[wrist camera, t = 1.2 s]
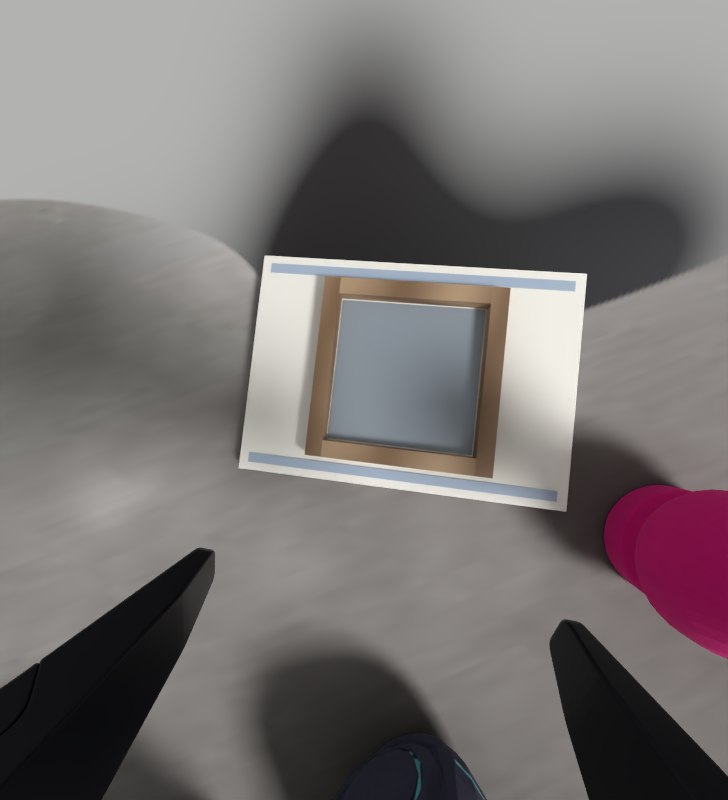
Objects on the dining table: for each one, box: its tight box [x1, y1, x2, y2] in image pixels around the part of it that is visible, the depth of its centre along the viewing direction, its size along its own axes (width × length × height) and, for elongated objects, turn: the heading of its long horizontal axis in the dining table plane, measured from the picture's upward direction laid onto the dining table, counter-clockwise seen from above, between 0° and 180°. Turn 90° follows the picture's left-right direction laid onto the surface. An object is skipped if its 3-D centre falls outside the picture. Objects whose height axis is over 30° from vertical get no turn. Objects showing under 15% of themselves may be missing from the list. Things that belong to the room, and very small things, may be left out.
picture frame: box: [239, 256, 587, 512], centre depth 22 cm, size 20×14×1 cm
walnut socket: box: [305, 276, 511, 479], centre depth 21 cm, size 11×11×1 cm
